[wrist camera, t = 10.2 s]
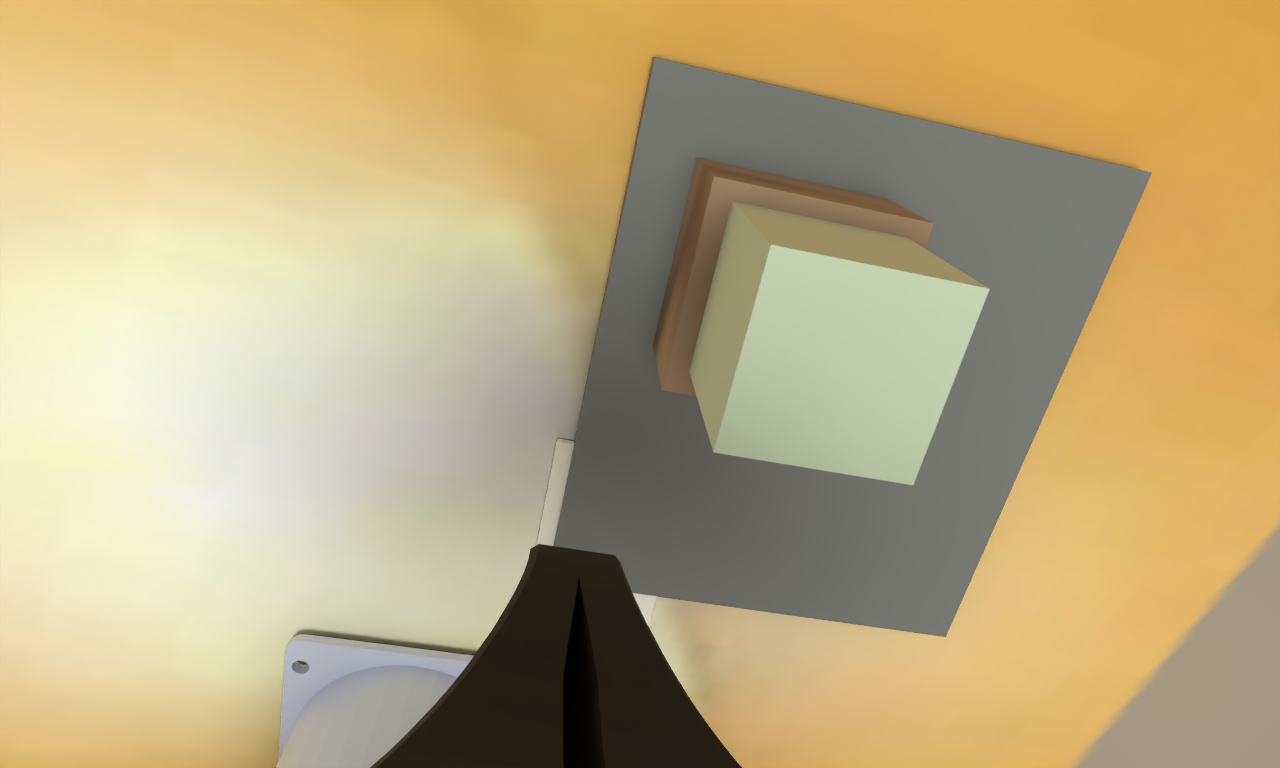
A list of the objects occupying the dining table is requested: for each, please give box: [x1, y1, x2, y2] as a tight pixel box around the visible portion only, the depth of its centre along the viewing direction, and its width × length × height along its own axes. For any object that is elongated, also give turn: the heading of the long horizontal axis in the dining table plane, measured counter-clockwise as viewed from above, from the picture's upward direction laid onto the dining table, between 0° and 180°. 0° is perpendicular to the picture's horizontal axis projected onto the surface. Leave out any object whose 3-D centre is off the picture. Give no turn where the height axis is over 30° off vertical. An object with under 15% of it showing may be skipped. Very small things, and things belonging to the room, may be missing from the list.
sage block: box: [689, 201, 989, 485], centre depth 16 cm, size 4×4×4 cm
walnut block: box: [653, 158, 934, 396], centre depth 20 cm, size 5×5×3 cm
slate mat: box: [554, 57, 1152, 637], centre depth 23 cm, size 15×13×1 cm
